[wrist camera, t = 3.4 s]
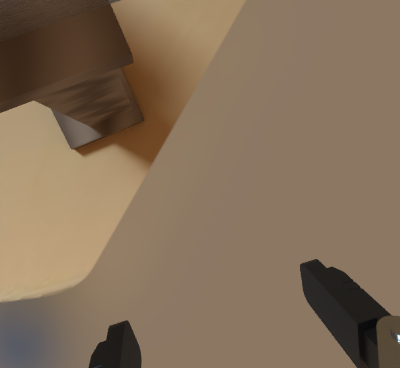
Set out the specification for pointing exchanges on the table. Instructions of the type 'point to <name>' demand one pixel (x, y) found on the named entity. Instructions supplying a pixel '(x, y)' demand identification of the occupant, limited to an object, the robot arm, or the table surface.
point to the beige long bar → (40, 13)
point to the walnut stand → (73, 75)
